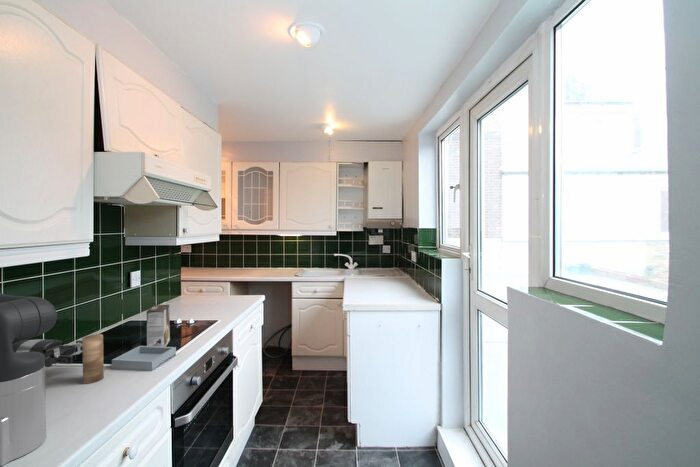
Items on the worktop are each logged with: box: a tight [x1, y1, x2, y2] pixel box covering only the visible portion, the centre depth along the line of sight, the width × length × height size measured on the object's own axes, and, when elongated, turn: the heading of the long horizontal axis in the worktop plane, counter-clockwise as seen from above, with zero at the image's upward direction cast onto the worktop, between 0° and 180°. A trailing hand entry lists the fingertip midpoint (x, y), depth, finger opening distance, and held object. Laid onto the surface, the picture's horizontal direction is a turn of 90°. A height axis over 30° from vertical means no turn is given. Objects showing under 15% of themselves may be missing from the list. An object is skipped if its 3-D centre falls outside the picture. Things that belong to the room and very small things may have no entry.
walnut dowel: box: [81, 333, 105, 385], centre depth 93 cm, size 5×5×14 cm
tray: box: [111, 345, 177, 372], centre depth 105 cm, size 12×15×3 cm
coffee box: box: [146, 304, 171, 347], centre depth 119 cm, size 9×6×16 cm
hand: (85, 353), depth 93 cm, fingers open, 8 cm apart
